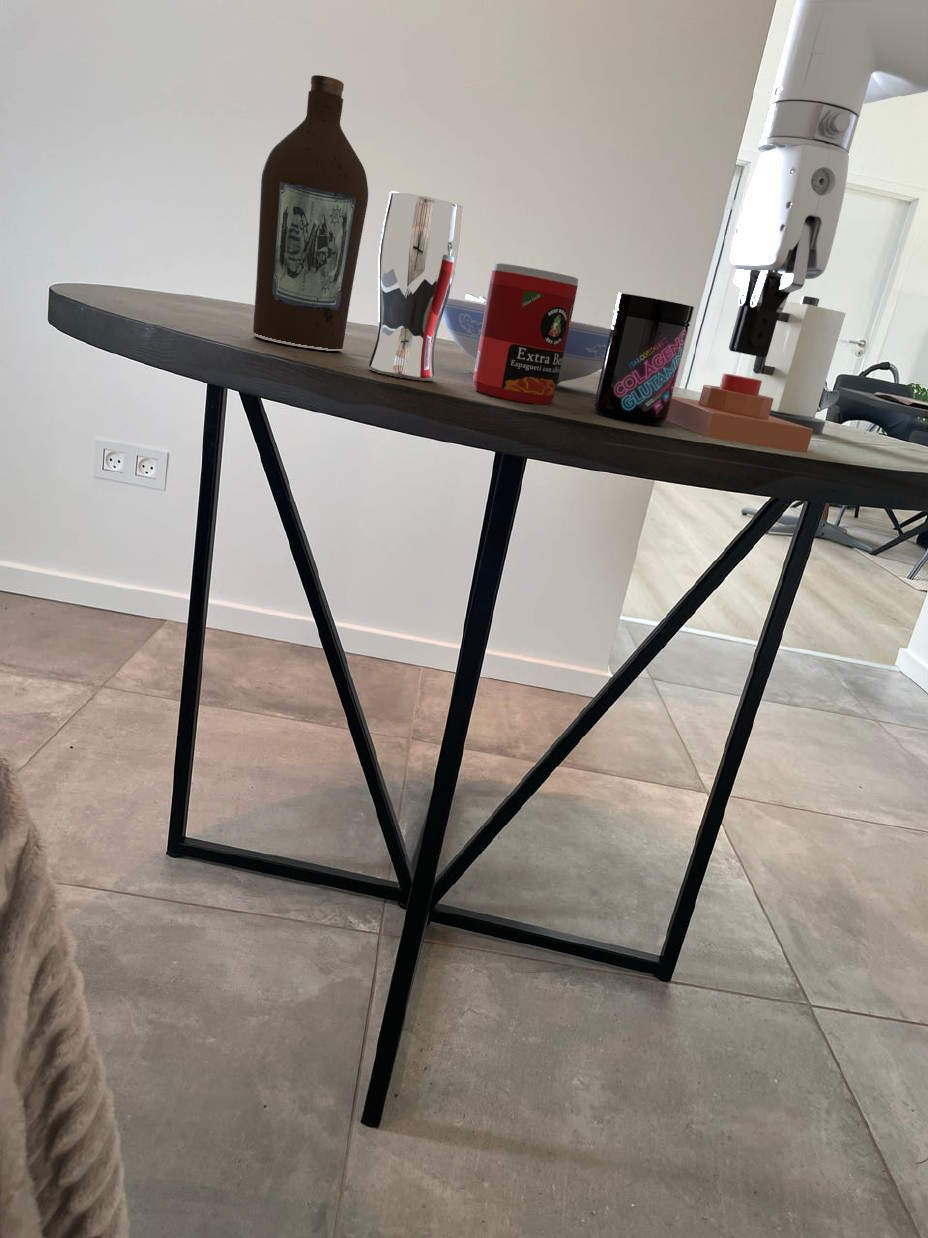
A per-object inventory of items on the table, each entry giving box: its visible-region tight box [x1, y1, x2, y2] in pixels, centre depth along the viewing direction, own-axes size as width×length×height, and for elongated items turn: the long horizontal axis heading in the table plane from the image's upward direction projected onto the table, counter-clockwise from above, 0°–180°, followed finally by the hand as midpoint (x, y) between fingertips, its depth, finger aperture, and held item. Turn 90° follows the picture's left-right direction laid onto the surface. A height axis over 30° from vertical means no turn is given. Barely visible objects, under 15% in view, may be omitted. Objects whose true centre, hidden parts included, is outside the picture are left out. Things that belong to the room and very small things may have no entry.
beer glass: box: [368, 191, 465, 383], centre depth 83 cm, size 7×7×15 cm
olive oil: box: [252, 74, 369, 350], centre depth 94 cm, size 11×11×25 cm
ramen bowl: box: [442, 293, 611, 385], centre depth 105 cm, size 25×23×8 cm
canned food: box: [472, 262, 579, 405], centre depth 83 cm, size 8×8×11 cm
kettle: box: [749, 295, 846, 418], centre depth 109 cm, size 11×6×13 cm, turn 115°
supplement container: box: [593, 292, 695, 428], centre depth 82 cm, size 7×7×10 cm
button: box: [719, 372, 762, 396], centre depth 87 cm, size 4×4×2 cm
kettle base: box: [769, 410, 826, 436], centre depth 111 cm, size 11×11×2 cm
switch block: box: [666, 384, 813, 454], centre depth 88 cm, size 10×12×4 cm
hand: (747, 353), depth 86 cm, fingers closed
